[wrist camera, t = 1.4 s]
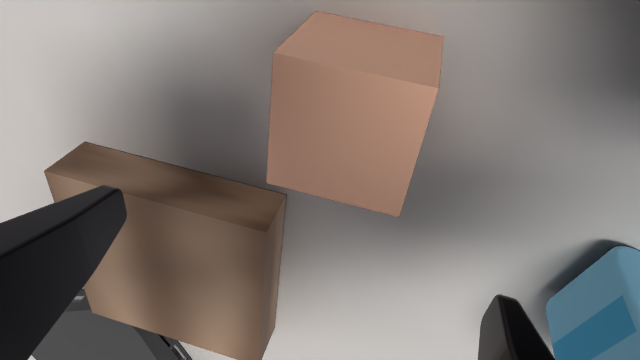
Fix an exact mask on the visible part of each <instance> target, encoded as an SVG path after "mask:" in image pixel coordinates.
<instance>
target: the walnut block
mask: <svg viewBox="0 0 640 360" xmlns="http://www.w3.org/2000/svg"><path fill="white" fill-rule="evenodd" d="M44 173H45V176H46V179H47V181H48V184H49V187H50V190H51V193H52V196H53V199H54V202H55V203H56V202H58V201H61V200H64V199H66V198H69V197H72V196H74V195H77V194H80V193H83V192H85V191H88V190H91V189H93V188H96V187H99V186H102V185H109V186H113V187H116V188H119V189H121V191H122V192H123V196H124V201H125V206H126V210H127V218H126V221H125V223H124V225H123V227H122V228H121V230H120V232H119V233H118V235H117V236H116V238H115V240H114V241H113V243H112V245H111V246H110V248H109V250H108V251H107V253H106V254H105V256H104V258H103V259H102V261H101V263H100V264H99V266H98V267H97V269H96V270H95V272H94V273H93V275H92V276H91V277H90V279H89V280H88V282H87V283H86V284H85V285H84V290H85V293H86V296H87V299H88V301H89V304H90V307H91V310H92V313H95V314H98V315H101V316H104V317H107V318H110V319H113V320H116V321H119V322H123V323H126V324H129V325H132V326H135V327H138V328H141V329H144V330H147V331H150V332H154V333H157V334H160V335H163V336H166V337H169V338H172V339H175V340H178V341H181V342H185V343H188V344H191V345H194V346H197V347H200V348H203V349H206V350H209V351H212V352H216V353H219V354H222V355H225V356H228V357H231V358H234V359H237V360H262V357H263V355H264V352H265V350H266V347H267V345H268V342H269V340H270V338H271V335H272V333H273V330H274V328H275V317H276V306H277V295H278V284H279V273H280V262H281V251H282V240H283V229H284V217H285V206H286V195H285V194H281V193H277V192H273V191H269V190H266V189H262V188H258V187H254V186H250V185H247V184H243V183H239V182H235V181H231V180H228V179H224V178H220V177H216V176H212V175H209V174H205V173H201V172H197V171H193V170H190V169H186V168H182V167H178V166H174V165H170V164H167V163H163V162H159V161H155V160H151V159H148V158H144V157H140V156H136V155H132V154H129V153H125V152H121V151H117V150H113V149H110V148H106V147H102V146H98V145H94V144H90V143H87V142H84V143H82V144H81V145H79V146H78V147H77V148H75V149H74V150H73V151H71V152H70V153H68V154H67V155H66V156H64V157H63V158H61V159H60V160H59V161H57V162H56V163H54V164H53V165H52V166H50V167H49V168H47V169H46V170H45V171H44Z"/></svg>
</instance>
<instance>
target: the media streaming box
mask: <svg viewBox="0 0 640 360" xmlns="http://www.w3.org/2000/svg"><path fill="white" fill-rule="evenodd" d="M182 349H183V350H182ZM32 356H33V357H34V358H35V359H36V360H192V359H191V358H190V356H189V355H188V354H187V352H186V351H185V350H184V348H183V347H182V346H181V345H180V343H179V342H178V341H177V340H175V339H172V338H169V337H166V336H163V335H160V334H157V333H154V332H150V331H147V330H144V329H141V328H138V327H135V326H132V325H129V324H126V323H123V322H119V321H116V320H113V319H110V318H107V317H104V316H101V315H98V314H95V313H92V310H91V307H90V304H89V301H88V299H87V296H86V293H85V290H84V289H81V291H80V292H79V293H78V295H77V296H76V297H75V299H74V300H73V301H72V302H71V304H70V305H69V306H68V308H67V309H66V310H65V312H64V313H63V314H62V315H61V317H60V318H59V319H58V321H57V322H56V323H55V325H54V326H53V327H52V328H51V330H50V331H49V332H48V334H47V335H46V336H45V338H44V339H43V340H42V341H41V343H40V344H39V345H38V347H37V348H36V349H35V351H34V352H33V353H32Z"/></svg>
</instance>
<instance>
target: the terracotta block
mask: <svg viewBox="0 0 640 360" xmlns="http://www.w3.org/2000/svg"><path fill="white" fill-rule="evenodd" d="M442 48H443V36H438V35H433V34H428V33H423V32H418V31H413V30H408V29H403V28H398V27H393V26H388V25H383V24H378V23H373V22H368V21H363V20H358V19H353V18H348V17H343V16H338V15H333V14H328V13H323V12H318V11H315V12H314V13H313V14H312V15H311V16H310V17H309V18H308V19H307V20H306V21H305V22H304V23H303V24H302V25H301V26H300V27H299V28H298V29H297V30H296V31H295V32H294V33H293V34H292V35H291V36H290V37H289V38H288V39H287V40H286V41H284V42H283V43H282V44H281V45H280V46H279V47H278V48H277V49H276V50H275V51H274V52H273V65H272V84H271V103H270V122H269V141H268V161H267V180H266V183H269V184H272V185H276V186H280V187H284V188H288V189H292V190H295V191H299V192H303V193H307V194H311V195H315V196H318V197H322V198H326V199H330V200H334V201H338V202H342V203H345V204H349V205H353V206H357V207H361V208H365V209H368V210H372V211H376V212H380V213H384V214H388V215H391V216H395V217H399V216H400V212H401V209H402V206H403V203H404V200H405V196H406V193H407V190H408V187H409V183H410V180H411V177H412V174H413V171H414V167H415V164H416V161H417V158H418V154H419V151H420V148H421V145H422V142H423V138H424V135H425V132H426V129H427V125H428V122H429V119H430V116H431V112H432V109H433V106H434V103H435V100H436V96H437V93H438V90H439V82H440V71H441V59H442Z"/></svg>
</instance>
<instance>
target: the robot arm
mask: <svg viewBox="0 0 640 360" xmlns="http://www.w3.org/2000/svg"><path fill="white" fill-rule="evenodd" d="M126 218H127V210H126V206H125V201H124V196H123V192H122V191H121V189H119V188H116V187H113V186H109V185H102V186H99V187H96V188H93V189H91V190H88V191H85V192H83V193H80V194H77V195H74V196H72V197H69V198H66V199H64V200H61V201H58V202H56V203H53V204H50V205H48V206H45V207H42V208H40V209H37V210H34V211H32V212H29V213H26V214H24V215H21V216H18V217H16V218H13V219H10V220H8V221H5V222H2V223H0V360H28V358H29V357H30V356H31V355H32V353H33V352H34V351H35V349H36V348H37V347H38V345H39V344H40V343H41V341H42V340H43V339H44V338H45V336H46V335H47V334H48V332H49V331H50V330H51V328H52V327H53V326H54V325H55V323H56V322H57V321H58V319H59V318H60V317H61V315H62V314H63V313H64V312H65V310H66V309H67V308H68V306H69V305H70V304H71V302H72V301H73V300H74V299H75V297H76V296H77V295H78V293H79V292H80V291H81V289H82V288H83V287H84V285H85V284H86V283H87V282H88V280H89V279H90V277H91V276H92V275H93V273H94V272H95V270H96V269H97V267H98V266H99V264H100V263H101V261H102V259H103V258H104V256H105V254H106V253H107V251H108V250H109V248H110V246H111V245H112V243H113V241H114V240H115V238H116V236H117V235H118V233H119V232H120V230H121V228H122V227H123V225H124V223H125V221H126ZM478 360H555V358H554V357H553V355H552V353H551V352H550V350H549V349H548V347H547V346H546V344H545V342H544V341H543V339H542V338H541V336H540V335H539V333H538V331H537V330H536V328H535V327H534V325H533V323H532V322H531V320H530V319H529V317H528V316H527V314H526V312H525V311H524V309H523V308H522V306H521V305H520V303H519V302H518V301H517V300H516V299H514V298H511V297H507V296H503V295H496V296H495V297H494V299H493V300H492V302H491V304H490V305H489V307H488V309H487V311H486V312H485V314H484V316H483V318H482V321H481V327H480V339H479V352H478Z"/></svg>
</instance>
